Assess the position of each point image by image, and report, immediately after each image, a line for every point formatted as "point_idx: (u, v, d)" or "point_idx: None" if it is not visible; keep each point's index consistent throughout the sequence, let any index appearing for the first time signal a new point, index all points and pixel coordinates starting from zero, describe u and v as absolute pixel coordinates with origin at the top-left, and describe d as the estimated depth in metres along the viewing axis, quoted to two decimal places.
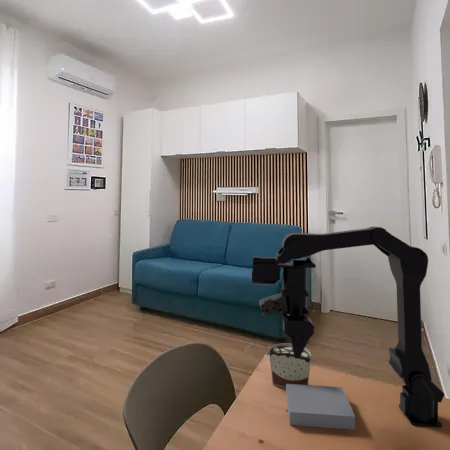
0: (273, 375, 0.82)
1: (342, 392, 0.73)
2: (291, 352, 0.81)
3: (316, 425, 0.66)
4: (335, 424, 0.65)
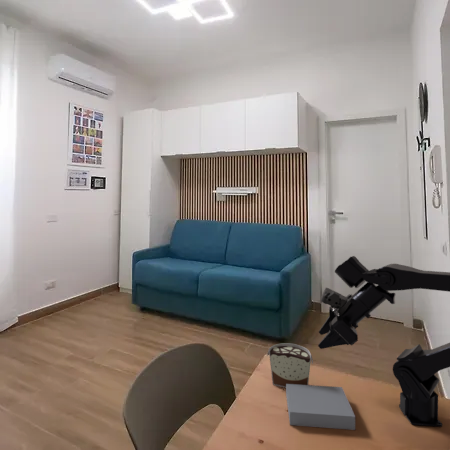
0: (273, 375, 0.82)
1: (342, 392, 0.73)
2: (291, 352, 0.81)
3: (316, 425, 0.66)
4: (335, 424, 0.65)
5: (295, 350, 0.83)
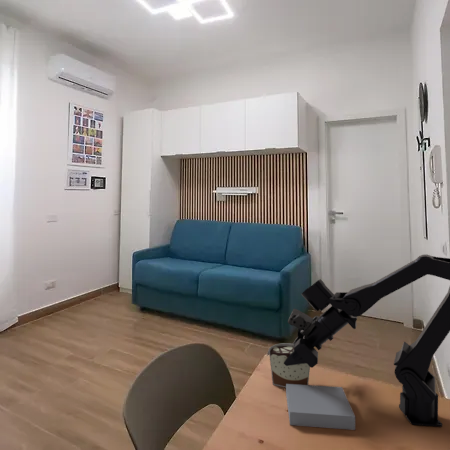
0: (273, 375, 0.82)
1: (342, 392, 0.73)
2: (291, 352, 0.81)
3: (316, 425, 0.66)
4: (335, 424, 0.65)
5: None
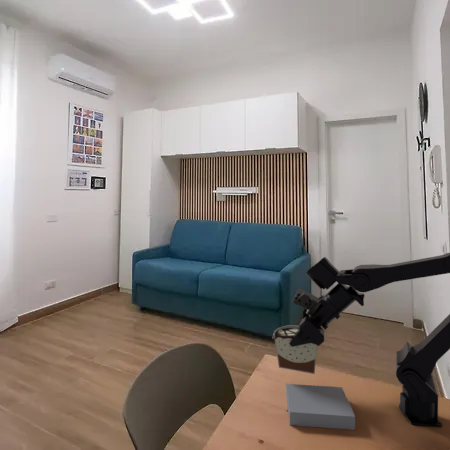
0: (279, 358, 0.80)
1: (342, 392, 0.73)
2: None
3: (316, 425, 0.66)
4: (335, 424, 0.65)
5: None
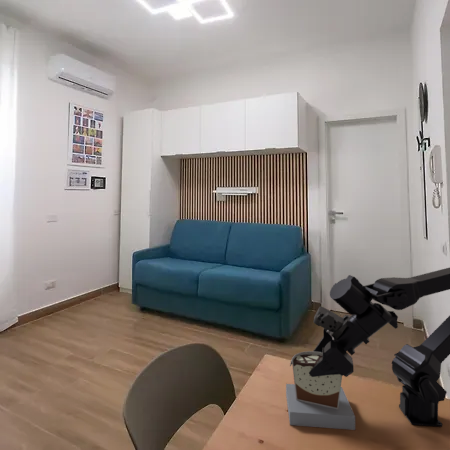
0: (297, 389, 0.70)
1: (342, 392, 0.73)
2: None
3: (316, 425, 0.66)
4: (335, 424, 0.65)
5: None
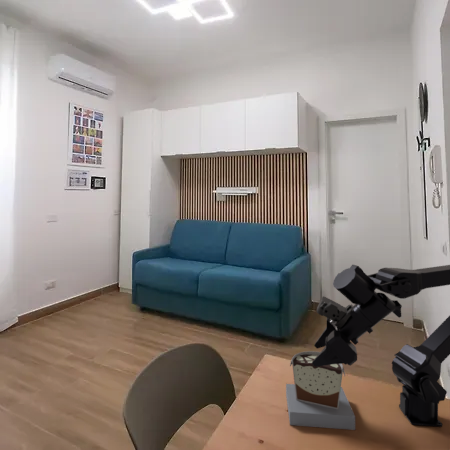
0: (297, 389, 0.70)
1: (342, 392, 0.73)
2: None
3: (316, 425, 0.66)
4: (335, 424, 0.65)
5: None
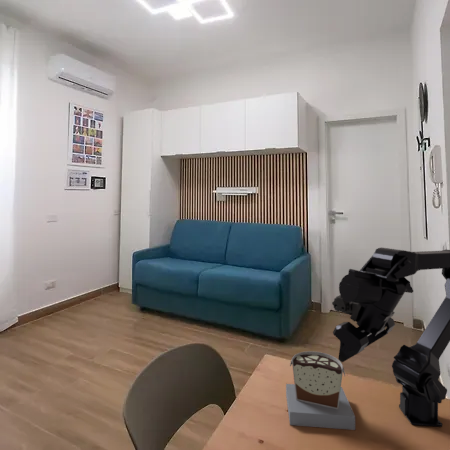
0: (297, 389, 0.70)
1: (342, 392, 0.73)
2: (318, 362, 0.70)
3: (316, 425, 0.66)
4: (335, 424, 0.65)
5: (322, 359, 0.71)
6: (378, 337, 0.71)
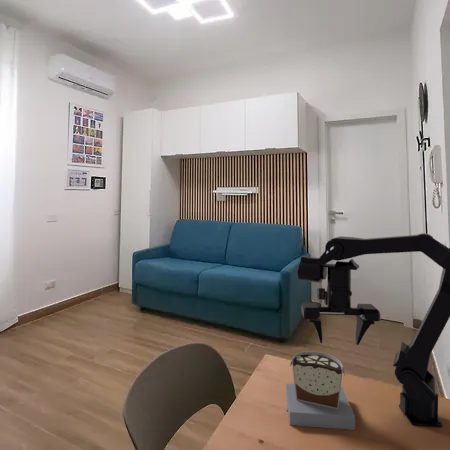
0: (297, 389, 0.70)
1: (342, 392, 0.73)
2: (318, 362, 0.70)
3: (316, 425, 0.66)
4: (335, 424, 0.65)
5: (322, 359, 0.71)
6: (361, 326, 0.75)
